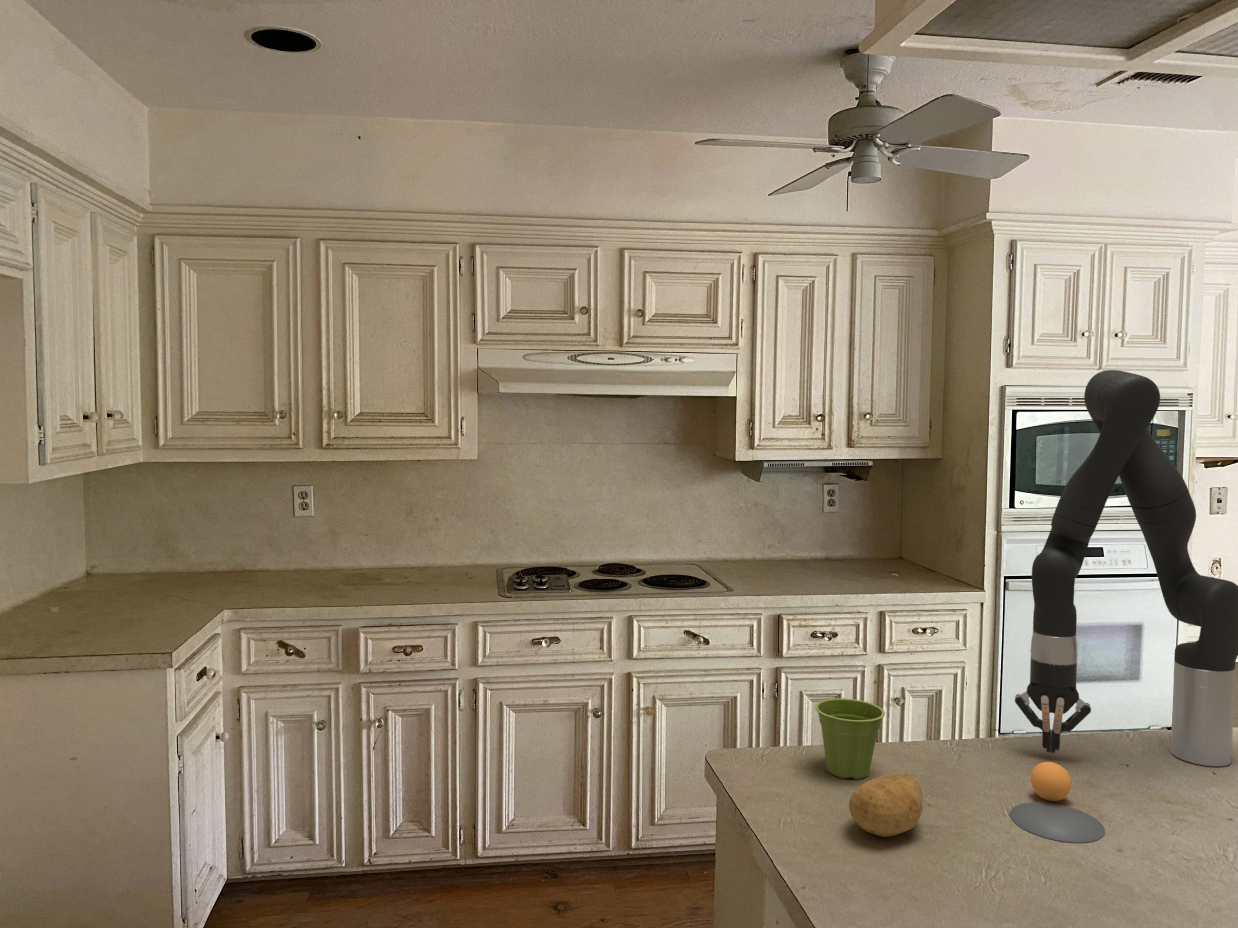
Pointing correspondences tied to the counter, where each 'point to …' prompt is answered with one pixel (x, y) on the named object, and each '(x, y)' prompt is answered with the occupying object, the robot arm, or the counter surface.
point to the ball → (1051, 781)
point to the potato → (887, 804)
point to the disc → (1057, 822)
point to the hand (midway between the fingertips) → (1050, 750)
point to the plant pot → (849, 735)
